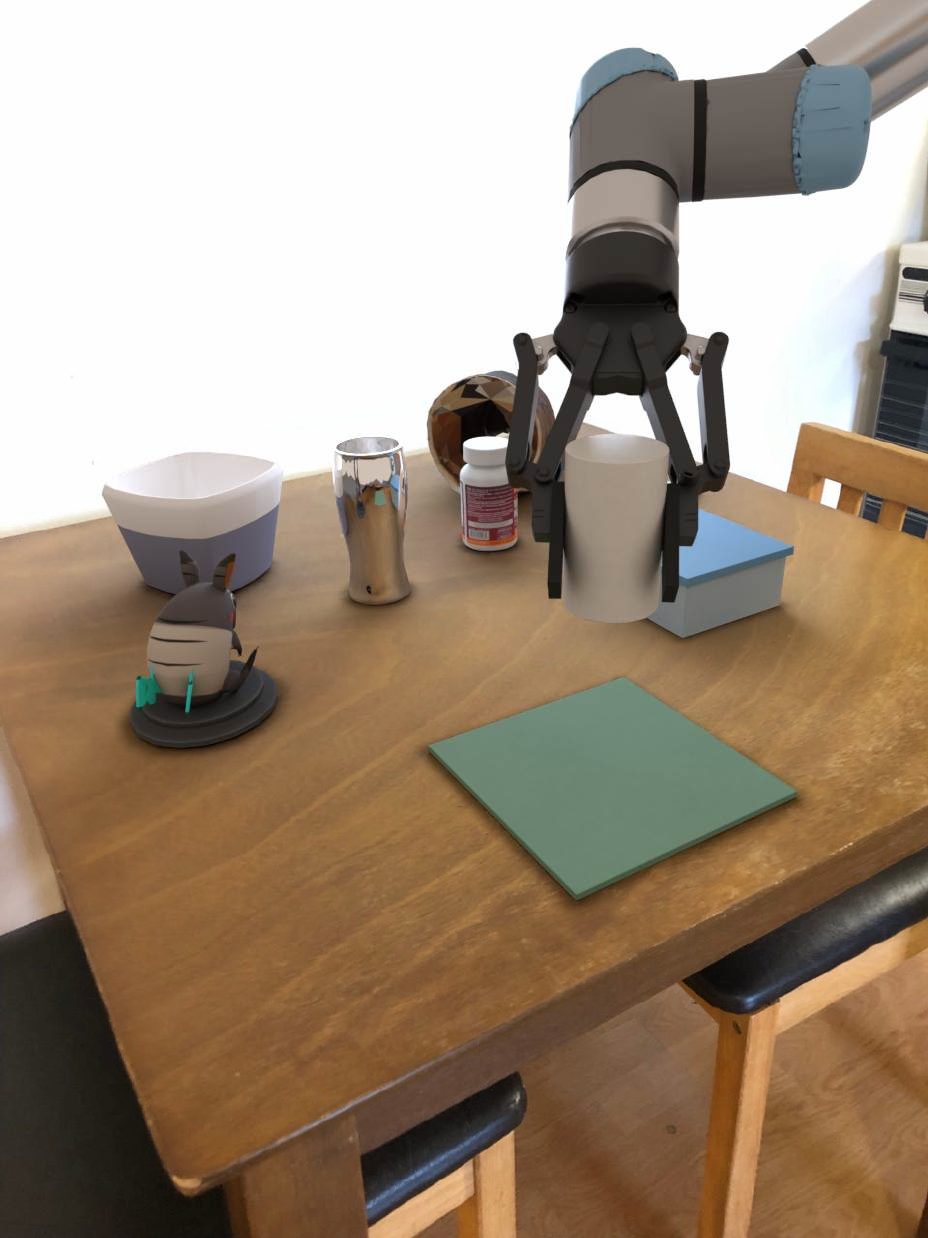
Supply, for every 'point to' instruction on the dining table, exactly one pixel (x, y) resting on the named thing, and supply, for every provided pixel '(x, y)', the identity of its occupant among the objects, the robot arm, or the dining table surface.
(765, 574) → the storage box
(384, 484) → the beer glass
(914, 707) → the dining table surface
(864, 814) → the dining table surface
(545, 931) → the dining table surface
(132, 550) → the bowl
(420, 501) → the dining table surface
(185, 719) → the figurine
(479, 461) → the pill bottle
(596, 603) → the white canister
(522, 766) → the mat
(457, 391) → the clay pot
